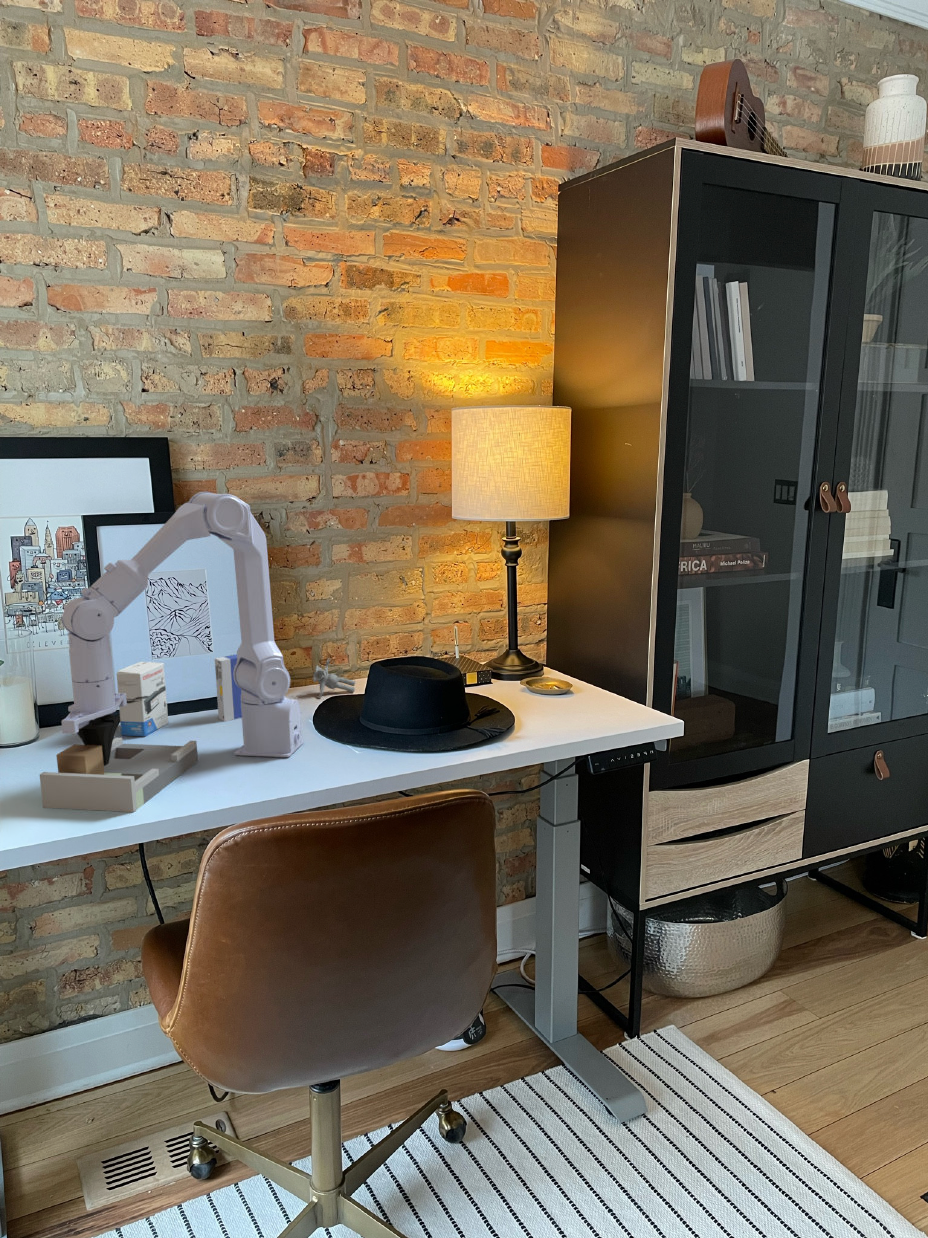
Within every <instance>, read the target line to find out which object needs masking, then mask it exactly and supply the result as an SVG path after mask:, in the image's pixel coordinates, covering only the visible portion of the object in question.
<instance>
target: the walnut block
mask: <svg viewBox="0 0 928 1238" xmlns="http://www.w3.org/2000/svg"><path fill="white" fill-rule="evenodd" d="M56 762H57V763H56V764H57V773H75V774H97V775H104V774H105V773H104V763H103V753H102V746H99V745H84V744H72V745H70V746H69V747H66V748H65V749H64V750H62V751H60V752H59V753H57V754H56Z"/></svg>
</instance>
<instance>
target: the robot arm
mask: <svg viewBox="0 0 928 1238" xmlns="http://www.w3.org/2000/svg"><path fill="white" fill-rule="evenodd" d="M250 506H251V505H249V504H248V503H246V502H245V501H243V500H242V499H240V498H239V497H237V496H236V495H233V494H230V493H213V492H211V491H210V492H209V491H200V492H198V493H196V494H194V495H193V496H192V497H190V499H189V501H188V502H185V503H183V504H182V505H180V506H179V507H178V509H176V511H175V513H173V514H172V515H171V517H170V518H169V519H168V520H167V521H166V522H165V523H164V524H163V525H162V527H161V528H159V529H158V531H156V533H155V534H154V535H153V536H152V537H151V538H150V539H149V540H148V542H146V543H145V544H144V546H142V548H141V549H140V550H139V551H138V552H137V553H136V554H135V555H134V556H133V557H132V558H131V559H119V560H117V561H115V563H112V562H109V563H108V564H106V565H105V566H104V570H105V572H104V573H103V574H102V575H101V576H100V577H99V578H98V579H97V580H96V581H95V582H93V584H92V585H91V586H90V587H84V588H83V589H82V590H81V591H80V594H81V595H82V596H79V597H76V598H73V599H72V600H70V601H69V602H68V603H67V604H66V605H65V607H64V609H63V612H62V616H60V622H61V624H62V626H63V628H64V629H65V630H66V631H67V632H68V646H69V647H68V654H69V655H68V657H69V663H70V664H69V665H70V675H71V684H72V695H73V703H74V704H71V705H69V706H68V707H67V708H68V709H67V710H68V712H70V713H68V715H67V716H66V717H65V718H64V719H62V720H61V731H62V734H69V735H70V734H74V735H75V734H77V735H78V737H79V738H80V739H81V741H82V743H83V745H99V746H102V753H103V763H104V766H106V765H107V764H109V759H110V753H111V747H112V742H113V740H114V739H115V734H116V732H117V729H118V727H119V725H120V724H121V723H120V714H118V715H117V714H113V713H115V712H116V711H117V710H119V707H124V706H126V705H127V700H126V693H118V692H115V685H114V674H113V664H112V663H113V662H112V651H111V645H110V636H109V633H111V631H112V630H113V628H114V624H115V618H116V617H118V616H119V615H120V614H121V613H122V612H124V611H125V609H127V608H128V607H129V605H130V604H131V603H133V602H134V601H135V599H137V598H138V597H139V596H140V595H141V594H142V593H143V592H144V591H145V590H146V589H147V588H148V583H149V575H150V574H151V572H153V571H154V570H155V569H157V568H158V567H159V566H160V565H161V564H162V563H163V562H164V561H165V560H167V559H168V558H169V557H170V556H171V555H172V554H173V553H175V552H176V551H177V550H178V549H180V547H182V545H183V544H185V543H186V542H188V541H190V540H195V539H201V538H208V537H211V535H213V536H215V537H217V538H218V539H219V540H220V541H222V542H223V543H224V544H226V545H227V546H228V547H230V548H231V549H232V551H233V558H234V559H233V560H234V570H235V582H236V594H237V604H238V605H237V606H238V615H239V616H238V617H239V628H240V629H239V631H240V639H241V643H240V645H239V647H238V649H237V651H236V654H237V663H236V666H235V668H234V673H233V676H234V681H235V683H236V685H237V686H238V687H239V688H241V693H242V694H241V711H242V717H241V724H242V738H243V739H242V740H243V745H242V746H241V747H239V748H238V749H237V750H236V751H235V752H234V755H235V756H247V757H248V756H249V757H250V756H251V757H252V756H253V757H274V758H289V757H291V755H293V754H294V753H295V752H296V751H297V750H298V749H299V747H301V746H302V744H304V739H303V730H302V729H303V727H302V712H301V710H302V709H301V706H300V703H299V700H297V699H291V698H289V697H286V694H287V693H288V692H289V689H290V688H291V687H290V686H291V676H290V673H289V671H288V669H286V666H285V663H284V656H283V654H282V652H281V650H280V649H279V647H278V646H277V644H276V642H275V634H274V633H275V632H274V622H273V620H274V619H273V608H272V597H271V595H272V594H271V582H270V571H269V560H268V559H269V558H268V557H269V556H268V545H267V536H266V534H265V532H264V530H263V529H262V527H261V526H260V524H259V523H258V521H257V520H256V518H255V517H254V515H253V514H252V512H251V507H250Z"/></svg>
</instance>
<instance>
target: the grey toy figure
mask: <svg viewBox="0 0 928 1238" xmlns="http://www.w3.org/2000/svg"><path fill="white" fill-rule="evenodd" d="M330 662H331V660H330V658H327V659H326V662H325V667H324V669H323V668H322V667H320V666H319V665H316V666H315V669H314V671H313V674H312V681H313V682H318V684H319V694H318V695H319V699H321V698H322V696H323V694H324V689H325V687H327V688H328V689H329V690H330V689H331V690H333V691H334V692H335V689H340V690H344V691H347V692H349V693H351V694H352V693H354V692H355V690H356V687H355V684H356V680H353V679H347V678H345V677H340V676H339V677H338V675H337V674H335V673H329V665H330Z"/></svg>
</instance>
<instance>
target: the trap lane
mask: <svg viewBox="0 0 928 1238" xmlns="http://www.w3.org/2000/svg"><path fill="white" fill-rule="evenodd" d="M123 741H124V740H123V737H114V738H113V742H112V747H111V753H110V759H109V764H107V765H106V766H104V773H105V774H104V775H97V774H75V773H58V772H53V771H52V772H50V771H49V772H48V771H43V772H41V773H39V774H38V775H39V780H40V783H39V784H40V791H41V800H42V808H47V809H48V808H49V809H53V808H54V809H64V810H65V809H67V810H68V809H69V810H83V811H84V810H88V811H103V812H106V811H107V812H122V813H123V812H124V813H125V812H126V813H127V812H128V813H134V812H136V811H137V810H138V809H139V808H141V807H143V805H144V804H146V803H147V802H148V801H150V800H151V799H152V798H153V797H155V796H156V795H158V793H160V792H161V791H162V790H164V789H165V788H166V787H167V786H169V785H170V784H172V782H174V781H175V780H176V779H178V778H179V777H180V776H181V775H183V773H185V772H186V771H188V770H189V769H190V768H192V766H194V765H195V764H196V763H197V762H199V759H198V757H199V756H198V746H197V743H198V742H197V740H190V741H188V742H186V744H184V745H168V744H167V745H166V744H165V745H162V744H142V743H141V744H138V743H137V744H135V743H124V742H123Z"/></svg>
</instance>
